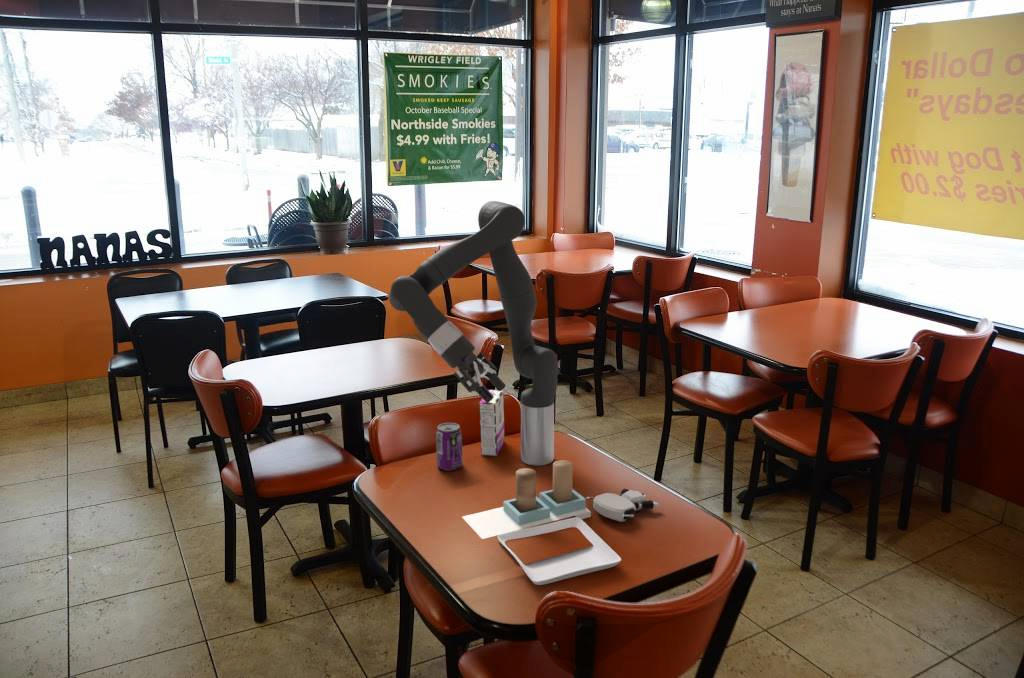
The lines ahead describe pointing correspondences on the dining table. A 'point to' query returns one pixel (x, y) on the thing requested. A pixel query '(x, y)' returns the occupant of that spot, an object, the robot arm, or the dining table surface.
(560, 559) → the salad plate
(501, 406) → the candy bar box
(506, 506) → the base board
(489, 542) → the dining table surface
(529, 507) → the walnut column
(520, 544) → the dining table surface
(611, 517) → the robot toy
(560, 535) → the dining table surface
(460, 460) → the beverage can
